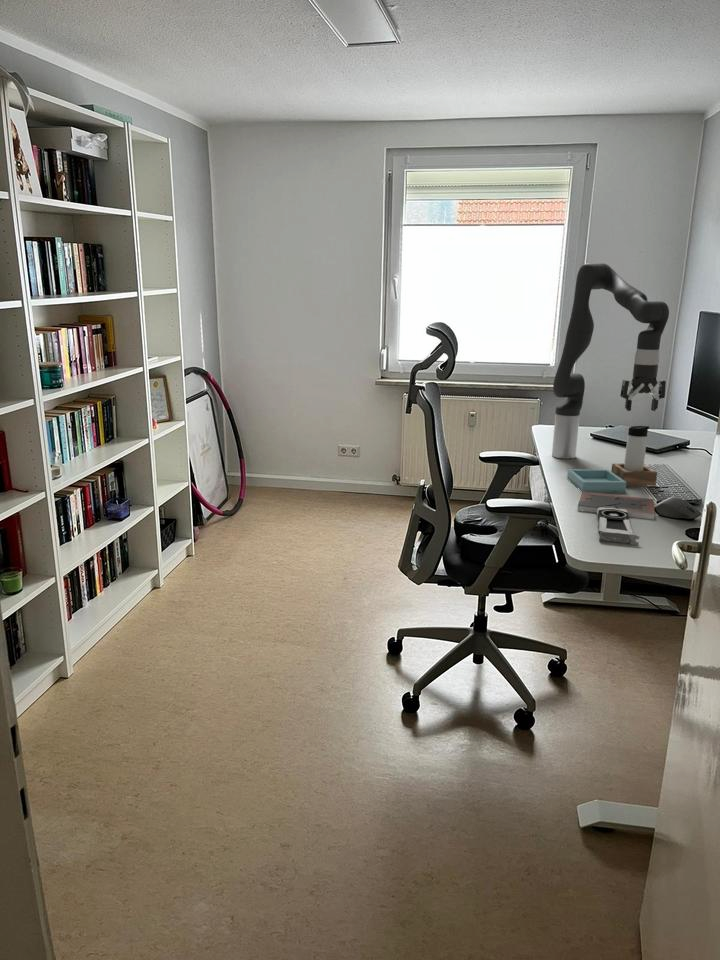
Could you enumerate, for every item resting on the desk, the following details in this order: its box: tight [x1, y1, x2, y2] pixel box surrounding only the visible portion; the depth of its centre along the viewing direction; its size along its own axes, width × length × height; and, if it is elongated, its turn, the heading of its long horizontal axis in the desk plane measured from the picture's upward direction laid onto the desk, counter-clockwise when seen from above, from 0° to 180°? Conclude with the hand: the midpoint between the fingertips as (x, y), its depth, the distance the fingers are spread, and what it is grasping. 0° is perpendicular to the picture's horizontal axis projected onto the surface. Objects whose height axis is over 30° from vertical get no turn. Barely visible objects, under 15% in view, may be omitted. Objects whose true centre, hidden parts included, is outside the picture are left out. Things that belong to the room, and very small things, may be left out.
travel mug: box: [624, 425, 650, 471], centre depth 237 cm, size 6×7×20 cm
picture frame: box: [577, 491, 655, 520], centre depth 211 cm, size 16×2×22 cm
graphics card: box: [595, 507, 641, 546], centre depth 192 cm, size 10×3×25 cm
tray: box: [566, 469, 627, 493], centre depth 234 cm, size 16×14×4 cm
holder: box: [610, 462, 658, 487], centre depth 239 cm, size 12×11×5 cm
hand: (640, 410), depth 233 cm, fingers open, 8 cm apart
